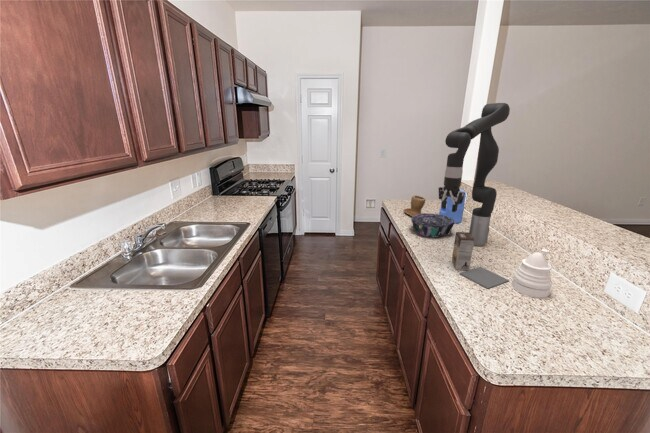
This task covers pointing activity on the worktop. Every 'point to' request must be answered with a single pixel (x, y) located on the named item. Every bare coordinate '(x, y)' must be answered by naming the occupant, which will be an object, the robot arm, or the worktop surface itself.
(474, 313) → the worktop surface
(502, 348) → the worktop surface
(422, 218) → the decorative bowl
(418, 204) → the brown boot
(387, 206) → the worktop surface
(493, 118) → the robot arm
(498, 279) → the rubber mat
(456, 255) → the coffee box
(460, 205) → the water jug
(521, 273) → the honey pot
